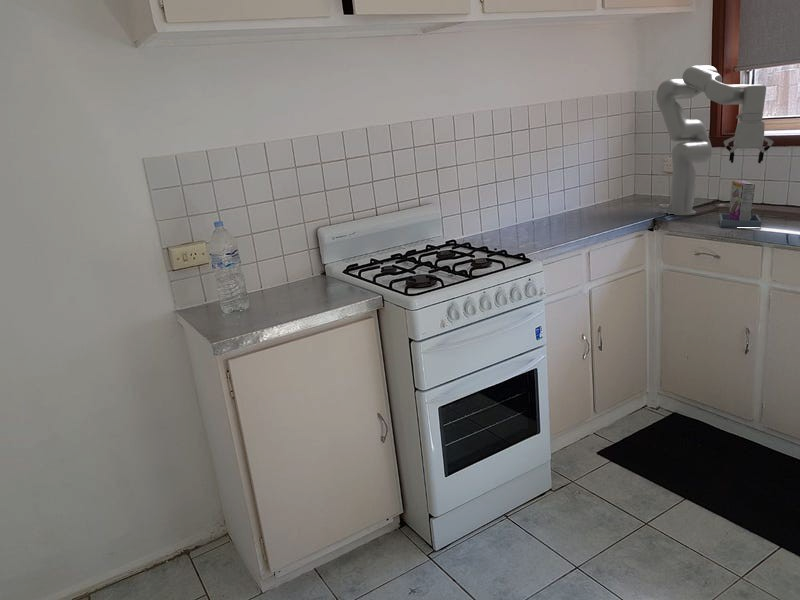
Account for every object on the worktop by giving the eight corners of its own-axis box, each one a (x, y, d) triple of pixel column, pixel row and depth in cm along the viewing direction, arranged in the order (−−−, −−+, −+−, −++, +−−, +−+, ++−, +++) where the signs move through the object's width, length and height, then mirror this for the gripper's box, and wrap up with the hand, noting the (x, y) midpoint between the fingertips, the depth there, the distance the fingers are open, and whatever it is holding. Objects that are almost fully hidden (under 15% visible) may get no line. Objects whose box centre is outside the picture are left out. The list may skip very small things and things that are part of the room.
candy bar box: (727, 220, 266) (731, 180, 261) (739, 220, 265) (744, 180, 260) (737, 225, 255) (742, 183, 250) (750, 225, 254) (756, 183, 250)
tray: (720, 227, 256) (721, 220, 255) (718, 220, 270) (719, 213, 269) (760, 229, 250) (761, 221, 249) (756, 222, 264) (757, 214, 264)
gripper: (727, 118, 248) (721, 163, 253) (778, 118, 241) (771, 164, 247) (726, 117, 255) (720, 161, 260) (775, 117, 248) (769, 162, 253)
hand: (745, 162), depth 253 cm, fingers open, 9 cm apart
